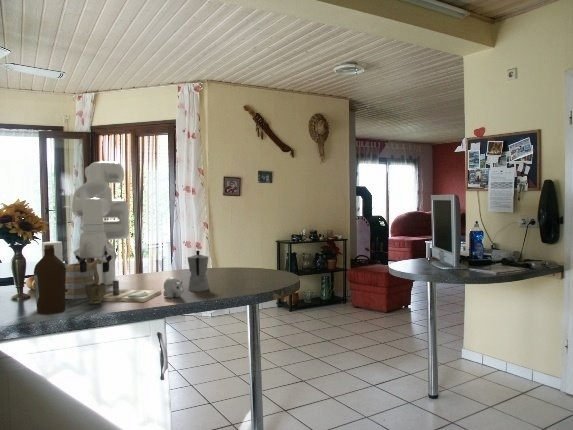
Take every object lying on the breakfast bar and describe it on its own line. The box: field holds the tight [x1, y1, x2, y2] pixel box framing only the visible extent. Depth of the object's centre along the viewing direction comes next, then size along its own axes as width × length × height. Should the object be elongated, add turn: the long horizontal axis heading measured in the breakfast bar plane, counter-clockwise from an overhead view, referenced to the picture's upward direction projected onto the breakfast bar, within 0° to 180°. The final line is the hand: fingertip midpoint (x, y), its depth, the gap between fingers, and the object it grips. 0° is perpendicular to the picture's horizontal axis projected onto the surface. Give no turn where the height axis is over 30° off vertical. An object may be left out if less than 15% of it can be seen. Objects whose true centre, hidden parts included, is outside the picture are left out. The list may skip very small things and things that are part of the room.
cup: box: [85, 283, 106, 305], centre depth 178 cm, size 8×7×8 cm
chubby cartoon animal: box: [163, 276, 185, 299], centre depth 186 cm, size 7×12×8 cm, turn 40°
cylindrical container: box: [41, 241, 64, 263], centre depth 178 cm, size 7×7×25 cm
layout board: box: [100, 279, 162, 303], centre depth 189 cm, size 20×16×8 cm
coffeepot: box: [186, 250, 210, 293], centre depth 202 cm, size 15×9×18 cm, turn 10°
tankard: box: [65, 259, 102, 300], centre depth 197 cm, size 20×13×15 cm, turn 160°
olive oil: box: [33, 245, 67, 315], centre depth 166 cm, size 11×11×25 cm
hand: (94, 272), depth 177 cm, fingers open, 9 cm apart
